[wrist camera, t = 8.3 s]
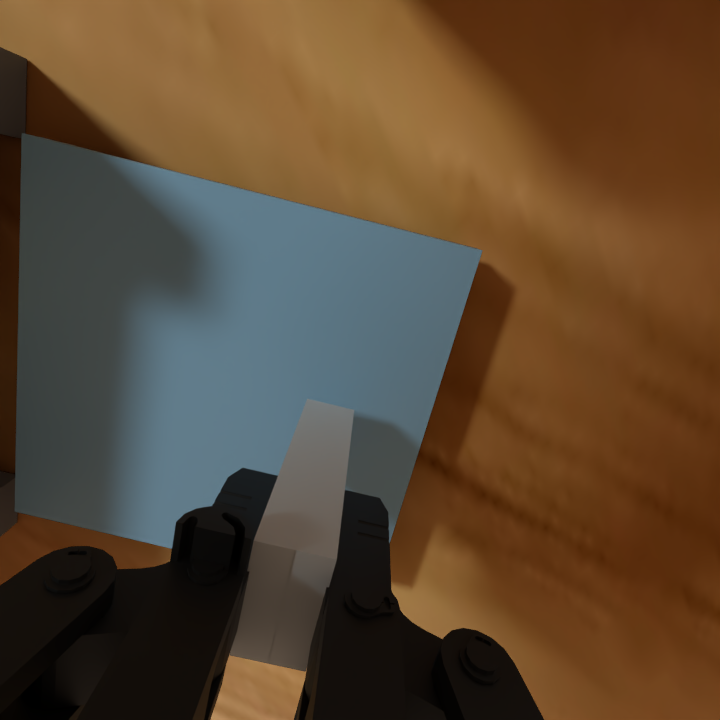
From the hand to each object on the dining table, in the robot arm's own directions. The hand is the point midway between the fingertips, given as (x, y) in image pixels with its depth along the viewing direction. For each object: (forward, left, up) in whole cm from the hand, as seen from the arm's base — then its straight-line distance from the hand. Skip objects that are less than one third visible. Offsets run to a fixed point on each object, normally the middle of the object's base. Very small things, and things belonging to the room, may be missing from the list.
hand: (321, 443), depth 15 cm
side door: (-4, -10, -3) cm, 11 cm away
